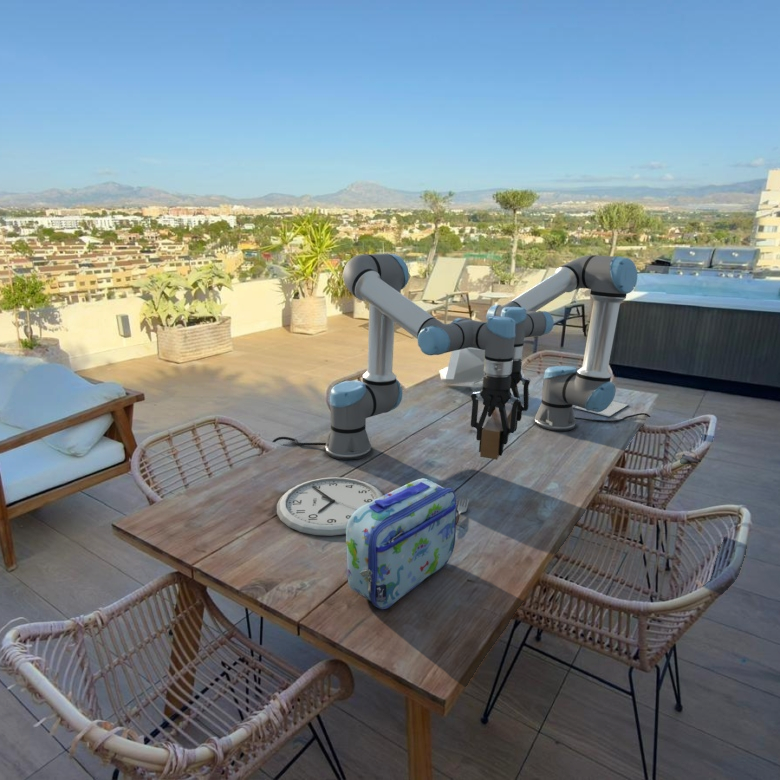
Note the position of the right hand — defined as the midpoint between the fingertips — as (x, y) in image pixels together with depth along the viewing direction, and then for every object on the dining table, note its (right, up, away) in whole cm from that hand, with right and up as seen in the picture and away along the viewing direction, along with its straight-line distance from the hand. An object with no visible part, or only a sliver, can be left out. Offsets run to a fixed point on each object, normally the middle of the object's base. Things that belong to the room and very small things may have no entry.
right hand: (503, 427), depth 167 cm
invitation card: (+55, +5, +59) cm, 81 cm away
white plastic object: (+5, +11, +76) cm, 77 cm away
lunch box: (-34, -29, -54) cm, 70 cm away
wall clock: (-52, -19, -24) cm, 61 cm away
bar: (-4, -4, -8) cm, 10 cm away
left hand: (-7, -6, -17) cm, 20 cm away
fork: (-19, -22, -30) cm, 41 cm away
